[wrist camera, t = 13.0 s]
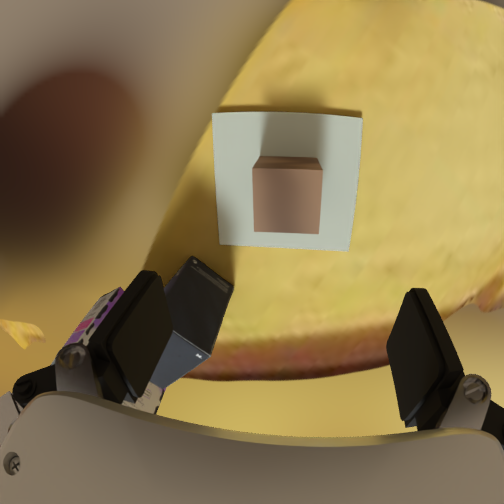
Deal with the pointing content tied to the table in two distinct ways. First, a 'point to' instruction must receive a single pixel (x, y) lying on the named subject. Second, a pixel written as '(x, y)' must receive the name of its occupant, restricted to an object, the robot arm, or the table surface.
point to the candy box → (87, 328)
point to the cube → (287, 194)
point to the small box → (191, 319)
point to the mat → (289, 145)
